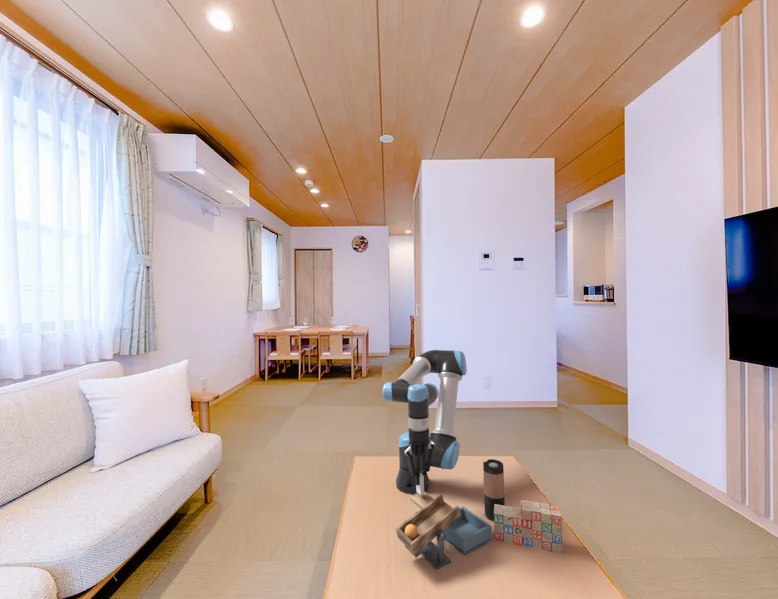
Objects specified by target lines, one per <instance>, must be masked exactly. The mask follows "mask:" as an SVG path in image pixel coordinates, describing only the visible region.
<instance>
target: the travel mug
mask: <svg viewBox="0 0 778 599" xmlns="http://www.w3.org/2000/svg"><path fill="white" fill-rule="evenodd" d="M482 463H483V469H482V470H483V501H484V502H483V503H484V516H485V517H486V518H487V520H489V521H492V522H494V504H497V505H503V506H506V505H505V504H506V502H505V500H506V498H505V497H506V495H505V474H504V472H505V471H504V463H503V462H502V461H500V460H498V459H493V458H490V459H487V460H486V461H483V462H482Z"/></svg>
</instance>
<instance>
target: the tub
mask: <svg viewBox="0 0 778 599" xmlns="http://www.w3.org/2000/svg"><path fill="white" fill-rule="evenodd" d="M459 510H460V514H461V516H460V517H459V518H458V519H457V520H455V521H454V522H453V523H452V524H451V525H449V526H448V527H447V528H446V529H445V530H443V531H444V534H445V535H446V538H445V540H444V541H446V542H448V543H449V544H450V545H452V546H453V547H454V549H456V550H457V551H458V552H459V553H460V554H462V555H463V556H464V557H465V556H466V555H469V554H471V553H472V552H474V551H476V550H478V549H480V548H481V547H483V546H485V545H487V544H489V543H490V542H492V541H493V526H492V525H491V524H489V522H487V521H485V520H484V519H483V518H481V517H479V516H478V515H476V514H475V513H474V512H472V511H471V510H469V509H468V508H466V507H465V506H464V505H463V506H459Z"/></svg>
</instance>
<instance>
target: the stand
mask: <svg viewBox="0 0 778 599" xmlns="http://www.w3.org/2000/svg"><path fill="white" fill-rule="evenodd" d="M417 512H418V511H416V512H415V514H416V513H417ZM445 538H446V535H445V534H444V531H443V530H440V531H437V536H436V544H435V543H434V542H433V540H431V541H430V542H429V543H428V549H426V550H425V551H424V552H423V553H422V554H420V556H421V557H422V558H424V559H425V560H426V561H427V562H428V564H429V565H430V566H431V567H432V568H433V569H434V570H435V571H436V572H438V571H439V570H441V569H442V568H444V567H447V566H448V565H450V564H452V562H453V561H452V558H451V557H449V556H448V555H447V554H446V553H445V552H446V551H445V548H446V546H445V541H446V540H445Z"/></svg>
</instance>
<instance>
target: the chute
mask: <svg viewBox="0 0 778 599" xmlns="http://www.w3.org/2000/svg"><path fill="white" fill-rule="evenodd" d="M409 498H410V501H411V502H412V503H414V504H415V505H416V506H417V507H419V509H420V510H418V511H416V512H417V513H416V512H415V513H416V514H413V515H412V516H411V517H408V519H406V520H405V521H403V522H402V523H401V524H400V525H398V526H397V527H395V531H396V536H397V538H398V540H400V541H401V543H403V545H404V547H405V548H406V550H408V551H409V552H410V554H412V556H414V558H416V559H417V558H418V557H420V556H421V554H422V553H423V552H424V551H425V550H426V549H428V543H429V542H430V541H433V540H434V539H435V538H437V531H440V530H445V529H446V528H447V527H448V526H449V525H451V524H452V523H453V522H454V521H455V520H457V519H458V518H459V517H460V516H461V514H460V510H459V508H460V506H459V505H456V506H455V507H452V506H451V505H450V504H448V503H447V502H446V501H445V499H444V496H443V494H439V495H438V496H437V497H435V498H434V497H432V496H431V495H430V494H429V493H427V491H424V494H422V495H420V494H419V493H418V492H417V493H416V494H412V496H411V497H409ZM409 524H413V525H414V526H415V527H416V528H417V536H416V537H415V538H414V539H410V538H409V537H408V536H407V535H406V534H405V528H406V526H407V525H409Z"/></svg>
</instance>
